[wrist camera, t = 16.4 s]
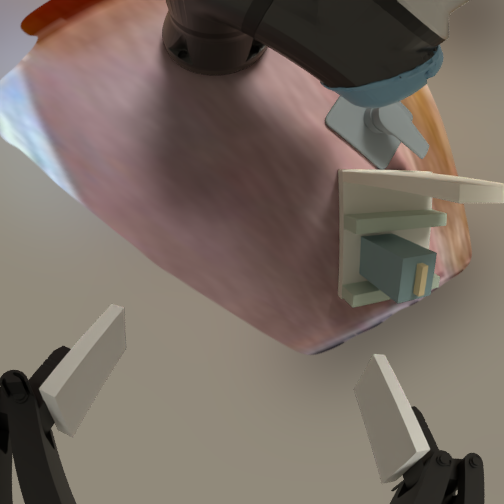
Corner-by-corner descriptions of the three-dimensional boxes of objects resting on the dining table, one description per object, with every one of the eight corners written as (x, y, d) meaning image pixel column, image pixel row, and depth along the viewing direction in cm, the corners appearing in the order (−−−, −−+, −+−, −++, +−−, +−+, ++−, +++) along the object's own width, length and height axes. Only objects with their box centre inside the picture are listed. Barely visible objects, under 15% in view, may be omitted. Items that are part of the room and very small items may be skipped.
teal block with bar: (360, 236, 41) (408, 261, 29) (392, 233, 41) (442, 255, 30) (359, 273, 42) (402, 307, 31) (389, 268, 43) (435, 298, 31)
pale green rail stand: (337, 169, 39) (459, 180, 16) (426, 171, 41) (538, 188, 18) (337, 295, 45) (421, 387, 22) (420, 278, 46) (509, 338, 24)
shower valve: (411, 184, 36) (336, 116, 32) (390, 181, 41) (321, 122, 37) (440, 124, 33) (375, 57, 30) (420, 126, 39) (358, 67, 35)
